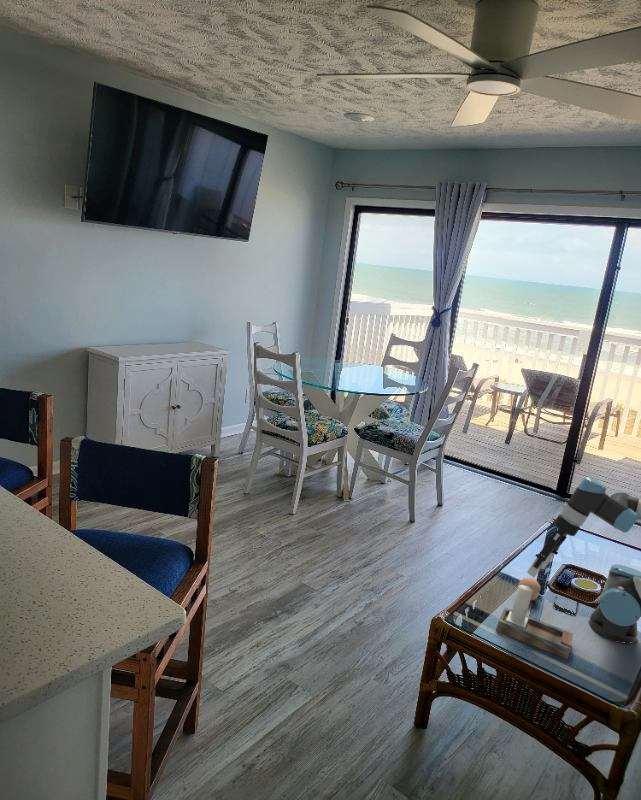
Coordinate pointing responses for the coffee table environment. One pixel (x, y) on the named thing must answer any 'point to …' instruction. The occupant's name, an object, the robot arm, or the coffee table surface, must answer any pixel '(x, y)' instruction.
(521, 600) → the disc
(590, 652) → the coffee table surface
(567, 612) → the phone
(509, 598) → the coffee table surface
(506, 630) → the track
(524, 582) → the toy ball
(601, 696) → the coffee table surface
